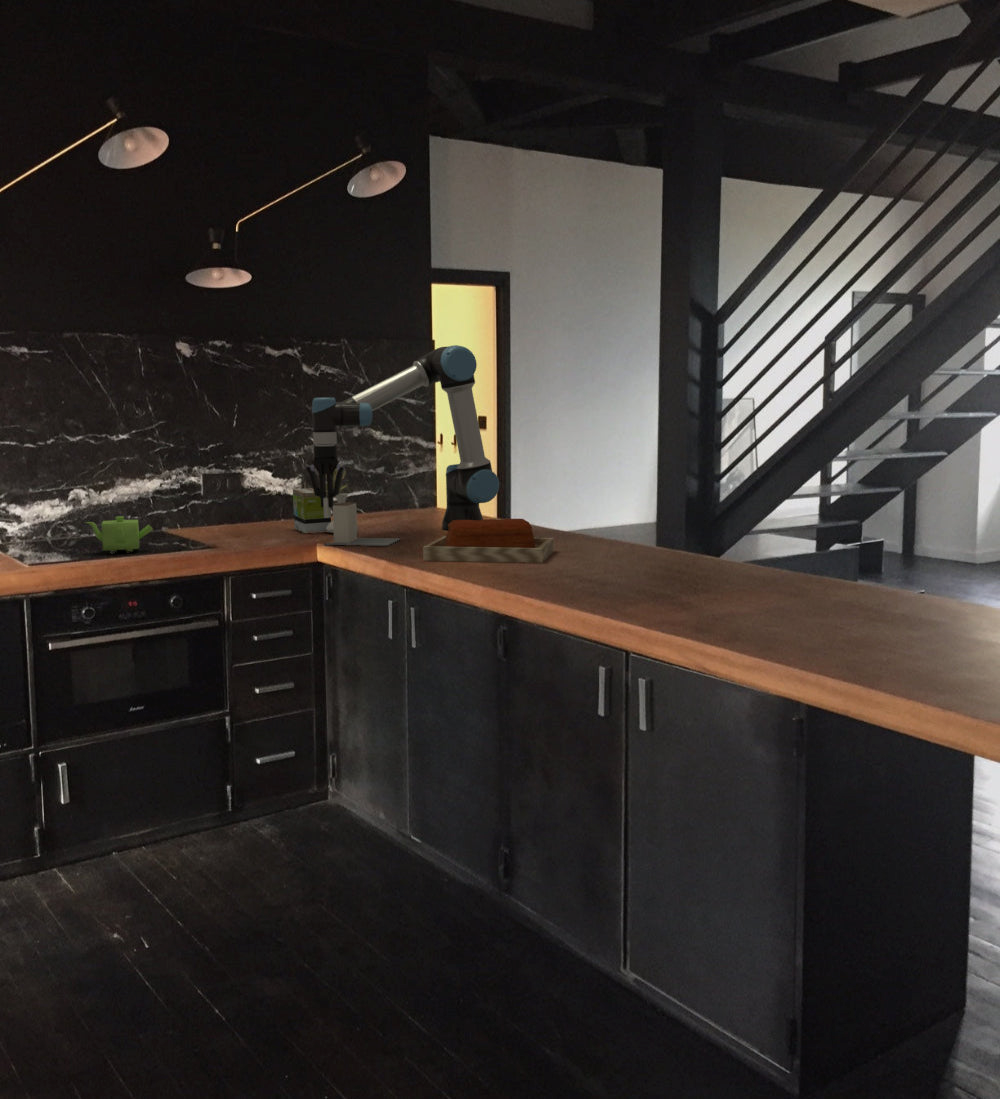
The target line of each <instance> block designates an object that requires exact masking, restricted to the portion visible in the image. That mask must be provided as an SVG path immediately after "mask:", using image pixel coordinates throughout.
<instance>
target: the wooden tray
mask: <svg viewBox="0 0 1000 1099" xmlns="http://www.w3.org/2000/svg"><path fill="white" fill-rule="evenodd" d="M534 543H535V548H501V547H445V544H446V536H441V537H439V538H438V539H435V540H434V541H431V542H430V543H428V544H426V545H424V546H422V554H423V556H422V559H423V560H422V561H424V562H425V561H428V562H431V561H432V562H438V561H439V562H472V563H474V562H476V563H478V562H480V563H481V562H482V563H483V562H484V563H485V562H486V563H519V562H526V563H527V564H531V563H532V564H543V563H544V561H545V560H546V559H547V558H549V557H550V556H551V555H552V554H553V553H554V551H555V538H554V537H534Z"/></svg>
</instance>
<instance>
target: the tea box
mask: <svg viewBox="0 0 1000 1099" xmlns="http://www.w3.org/2000/svg"><path fill="white" fill-rule="evenodd" d="M326 495H327V496H328V492H327V490H326ZM327 496H326V497H327ZM292 502H293V503H292V505H293V507H292V508H293V523H294V524H293V525H294V530H297V531H299V532H301V531H302V533H303V532H305V533H308V532H325V531H327V530H326V527H327V526H328V524H329V523H331V522H332V516H331V517H330V518H324V507H321V498H320V497H319V496H316V495H315V493H314V489H313V487H312V488H310V487H309V488H298V489H297V488H296V489H292Z"/></svg>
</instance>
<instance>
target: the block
mask: <svg viewBox="0 0 1000 1099" xmlns="http://www.w3.org/2000/svg"><path fill="white" fill-rule="evenodd" d="M332 515H333V516H332V519H333V520H332V521H333V527H334V533H333V540H334V543H350V542H352V541H354V540H357V538H358V530H357V526H358V521H357V519H358V518H357V516H358V515H357V503H356V502H345V503H339V504H338V503H337V504H333V507H332Z"/></svg>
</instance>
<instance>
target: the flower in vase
mask: <svg viewBox="0 0 1000 1099" xmlns="http://www.w3.org/2000/svg"><path fill="white" fill-rule="evenodd" d="M339 464H340V465H341V466H343V464H342V463H339ZM337 472H338V471H337V468H336V469H335V471H334V472H333V490H334V485H335V480H336V475H337ZM346 474H347V470H346V469H345V471H344V472H343V475H342V480H343V479H345V476H346ZM326 479H327V476H326ZM348 484H349V483H348ZM348 484H346V485H343V486H340V490H339V491H341V490H343V489H345V488H346V487H347V486H348ZM326 490H327V484H326ZM348 496H349V493H346V492H345V493H344V492H342V493H341V492H339V494H338V495H337V496H334V498H336V501H337V504H339V503H346V499H347V497H348ZM326 530H327V531H328V532H327V533H332V534H334V527H333V520H331V523H329V524H328V526H327V527H326ZM358 530H359V526H358V525H357V531H358Z"/></svg>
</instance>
